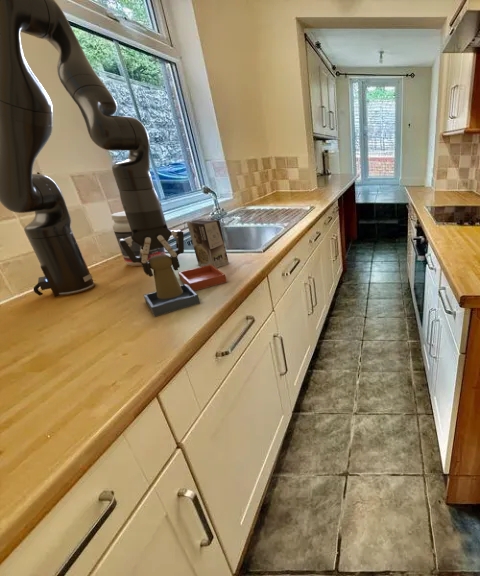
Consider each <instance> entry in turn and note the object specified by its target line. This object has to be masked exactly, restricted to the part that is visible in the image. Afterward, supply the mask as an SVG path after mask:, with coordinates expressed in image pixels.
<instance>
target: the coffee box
mask: <svg viewBox="0 0 480 576" xmlns="http://www.w3.org/2000/svg"><path fill="white" fill-rule="evenodd" d="M186 224H187V229H188V232H189V235H190V240H191V243H192V247H193V250H194V253H195V257H196V261H197V265H198V266H199V267H202V266H207V265H213V266H214V267H215V268H217V269H218V268H220V267H224V266H226V265H228V264H230V262H229V258H228V254H227V249H226V244H225V240H224V235H223V231H222V225H221V222H220V220H219V219H212V218H211V219H210V218H198V219H194V220H190V221H187V222H186Z"/></svg>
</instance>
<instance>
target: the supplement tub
mask: <svg viewBox="0 0 480 576" xmlns="http://www.w3.org/2000/svg"><path fill="white" fill-rule="evenodd" d="M110 216H111V221H113V223H112V231H113V232H114V235H115V238H116V241H117V244H118V247H119V249H120V252H121V254H122V257H123V260H124V263H125V264H126V265H129V266H130V267H142V264H141V263H138V262H136V263H133V262H132V261H131V259H130V258H129V256H128V255H127V253H126V252H125V250H124V249H123V247H122V246H121V245H120V243H119V239H125V238H128V237H131V229H130V226H129V223H128V220H127V217H126V214H125V211H124V210H123V211H117V212H114V213H112V214H111V215H110ZM131 243H132V246H131V247H130V249H131V250H132V252H133V253H134V255H135V256H137V257H140V248H141V246H140V245H139V244H138V243H136V242H135V241H132V242H131ZM156 255H167V254H166V249H165V248H164V247H163V248H155V249H152V250H149V254H148V259H147V261H149V259H150V258H151V257H153V256H156Z"/></svg>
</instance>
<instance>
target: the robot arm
mask: <svg viewBox="0 0 480 576" xmlns="http://www.w3.org/2000/svg"><path fill="white" fill-rule="evenodd" d="M21 33H23V34H26V35H29V36H32V37H35V38H37V39H40V40H45V41H47V42H49V44H51V46H53V48H54V49H55V50H56V51H57V52H58V59H57V63H56V64H57V65H56V69H57V70H56V72H57V75H58V78H59V79H58V80H59V81H60V83H61V84H62V86H63V88H64V90H66V93H68V95H69V96H70V97H71V99H72V100H73V102H74V103H75V105H76V106H77V107H78V110H79V111H80V113H81V116H82V119H83V120H84V123H85V127H86V129H87V133H88V135H89V138H90V140H91V141H92V142H93V144H95V145H96V146H97V147H99V148H100V149H102V150H105V151H109V152H121V151H124V152H125V151H129V152H128V157H127V159H125V160H123V161H119V162H116V163H113V164H112V166H111V171H112V174H113V177H114V180H115V183H116V187H117V189H118V192H119V198H120V202H121V205H122V209H123V211H125V214H126V217H127V220H128V223H129V226H130V229H131V237H128V238H125V239H119V243H120V245H121V246H122V247H123V249H124V250H125V252H126V253H127V255H128V256H129V258H130V259H131V261H132V262H133V263H136V262H138V263H141V264H142V266H141V267H142V269H143V272H144V273H145V274H146V275H147V276H148V277H154V272H153V269H151V267H150V264H149V262H148V261H147V259H148V254H149V250H152V249H155V248H163V247H164V250H165V251H167V253H168V254H169V257H170V258H171V259H172V266H171V267H172V269H173V271H175V272H177V271H179V268H180V266H181V264H180V261H179V255H180V254H184V252H185V241H184V238H185V237H184V236H185V233H184V231H182V230H181V229H176V230H171V229H170V228H169V227H168V224H167V220H166V218H165V214H164V210H163V208H162V202H161V201H160V197H159V195H158V192H157V190H156V188H155V185H154V180H153V177H152V173H151V170H150V169H151V168H150V135H149V132H148V130H147V128H146V126H145V125H144V124H143V122H141V121H140V120H139V119H138V118H137V117H134V116H126V115H115V114H116V113H117V111H118V103H117V101H116V99H115V97H114V96H113V94H112V93H111V92H110V90H109V89H108V88H107V87H106V85H105V83H104V82H103V81H102V79H101V78H100V77H99V75H98V74H97V72H96V71H95V70H94V68H93V67H92V65H91V63H90V61H89V60H88V58H87V56H86V54H85V52H84V49H83V48H82V46H81V44H80V42H79V40H78V38H77V36H76V34H75V32H74V29H73V28H72V26H71V24H70V22H69V21H68V18H67V17H66V15H65V13H64V11H63V10H62V8H61V6H59V4H58V2H56V0H0V204H1V205H3V207H4V208H6V209H7V210H8V211H10V212H13V213H17V214H26V213H27V214H28V213H33V212H34V218H33V219H32V220H31V221H30V222H29V223H28V224H27V225H25V226H24V229H23V231H24V234H25V235H26V237H27V239H28V241H29V244H30V247H31V248H32V250H33V252H34V254H35V257H36V258H37V261H38V262H39V264H40V270H41V272H42V273H43V276H39V277H38V279H37V284H36V285H34V287H33V292H34V294H36V295H37V296H40V297H41V296H43V295H44V293H43V292H42V291H46V290H51V292H52V294H53V297H55V298H57V297H62V296H63V297H66V296H72V295H77V294H80V293H84V292H87V291H90V290H92V289H93V288H95V287H96V283H95V281H94V279H93V275H92V273H91V272H90V270H89V268H88V264H87V263H86V261H85V258H84V256H83V253H82V250H81V249H80V245H79V244H78V241H77V239H76V236H75V234H74V232H73V229H72V218H71V216H70V215H71V214H70V213H69V209H68V206H67V202H66V200H65V198H64V195H63V192H62V191H61V189H60V187H59V186H58V184H57V183H56V182H55V181H54V180H53V179H52V178H51V177H49V176H47V175H45V174H41V173H33V171H34V170H33V168H34V165H35V164H34V163H35V161H36V159H37V157H38V156H39V154H40V152H42V150H43V148H44V147H45V145H46V144H47V142H48V141H49V140H50V138H51V136H52V133H53V123H54V122H53V121H54V120H53V119H54V117H53V115H54V114H53V111H54V110H53V103H52V101H51V98H50V96H49V94H48V93H47V91H46V90H45V88H44V87H43V85H42V83H41V82H40V81H39V79H38V78H37V77H36V75H35V73H34V72H33V71H32V69H31V67H30V66H29V64H28V62H27V60H26V58H25V55H24V51H23V47H22V41H21ZM171 236H172V238H173V239H175V249H173V247H172V246H171V245H170V244H169V243H168V242H169V240H170V238H171ZM132 241H135V242H136V243H138V244H139V245H140V246H141V248H140V257H137V256H135V255H134V253H133V252H132V250H131V249H130V247H131V246H132V243H131V242H132ZM39 289H40V290H41V291H40V290H39Z"/></svg>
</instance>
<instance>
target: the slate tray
mask: <svg viewBox="0 0 480 576" xmlns="http://www.w3.org/2000/svg"><path fill="white" fill-rule="evenodd" d="M180 286H181V288H182V290H183V293H182V294H181V295H179V296H176V297H173V298H169V299H160V298H158V297H157V292H156V291H153V292H150V293H146V294H143V298H144V301H145V303H146V305H147V307H148V308H149V310H150V312H151V313H152V315H153V316H154V317H159V316H161V315H162V316H163V315H166V314H169V313H172V312H176V311H178V310H183V309H185V308H189V307H193V306H196V305H199V304H200V303H201V301H200V298H199V294H197V293H196V292H195V291H193V290H192V289H191V288H190V287H189V286H188V285H187V284H184V283H183V284H180Z"/></svg>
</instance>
